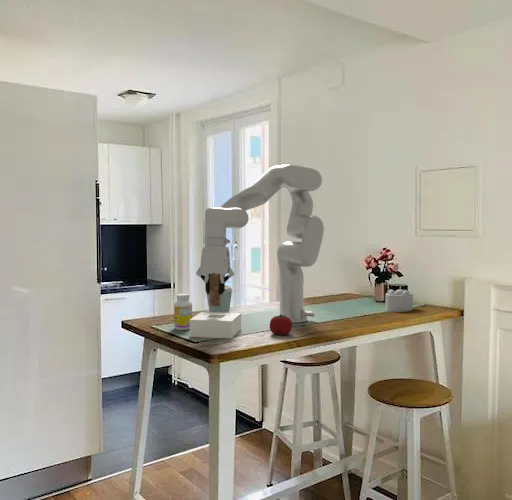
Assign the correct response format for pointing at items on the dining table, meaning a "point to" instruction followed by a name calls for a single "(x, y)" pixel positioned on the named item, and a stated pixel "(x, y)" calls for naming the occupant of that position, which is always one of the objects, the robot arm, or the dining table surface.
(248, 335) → the dining table surface
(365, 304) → the dining table surface
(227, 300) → the disposable coffee cup
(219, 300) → the brown wooden block
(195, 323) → the block
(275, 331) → the tomato
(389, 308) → the lumpy-topped squat cylinder
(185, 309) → the supplement bottle
